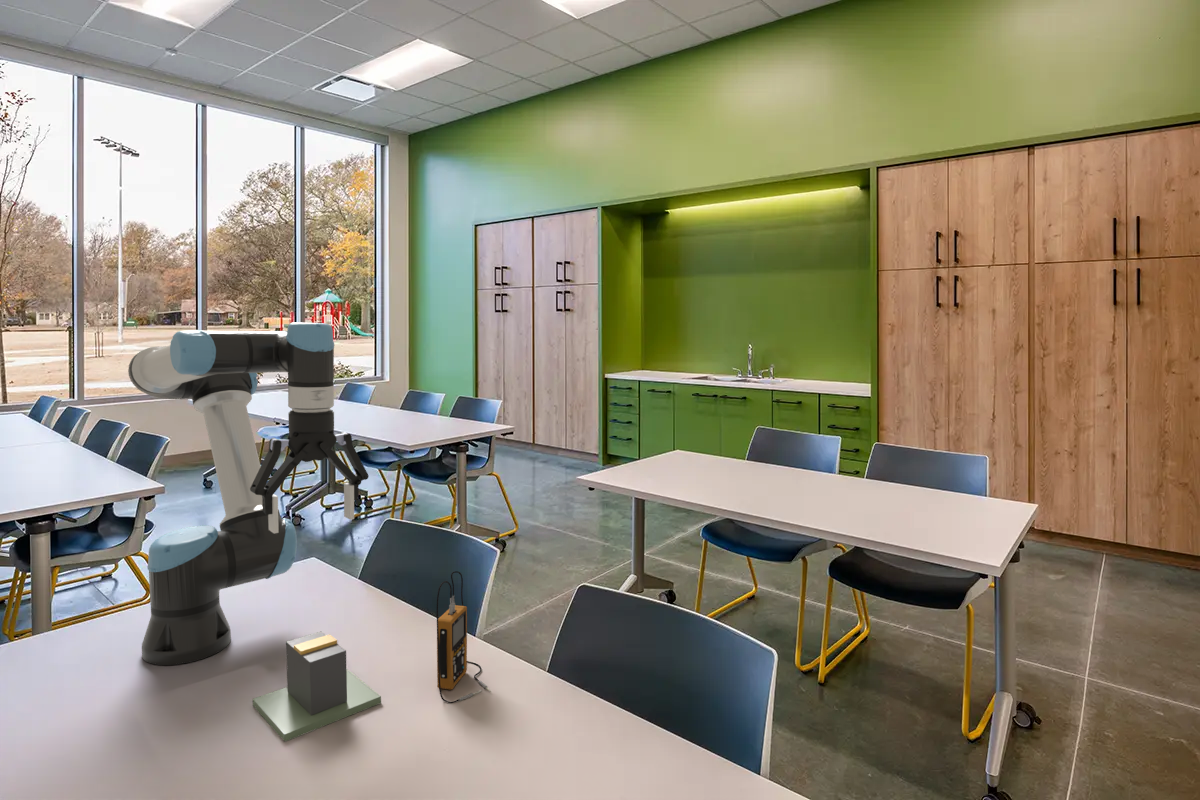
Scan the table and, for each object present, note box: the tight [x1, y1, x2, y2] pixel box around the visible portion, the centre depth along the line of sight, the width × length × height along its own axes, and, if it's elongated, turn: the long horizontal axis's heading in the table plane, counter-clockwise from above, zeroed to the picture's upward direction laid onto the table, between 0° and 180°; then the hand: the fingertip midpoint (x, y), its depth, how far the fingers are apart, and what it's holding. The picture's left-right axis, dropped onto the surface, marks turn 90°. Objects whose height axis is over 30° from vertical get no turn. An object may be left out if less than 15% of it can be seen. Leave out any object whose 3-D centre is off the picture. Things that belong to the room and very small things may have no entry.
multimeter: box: [436, 571, 492, 704], centre depth 122 cm, size 15×10×20 cm
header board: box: [252, 668, 382, 742], centre depth 115 cm, size 14×16×5 cm
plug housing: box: [285, 631, 347, 715], centre depth 114 cm, size 10×6×10 cm, turn 45°
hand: (312, 524), depth 123 cm, fingers open, 13 cm apart
